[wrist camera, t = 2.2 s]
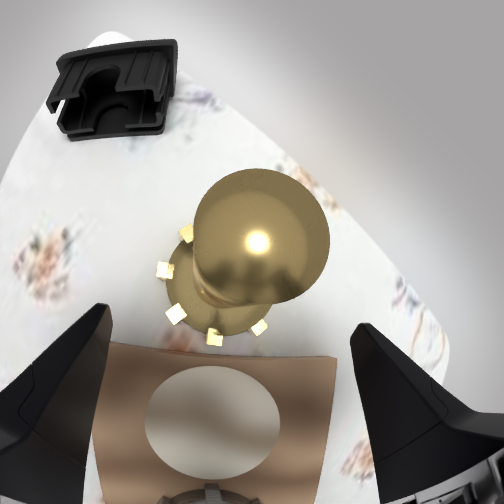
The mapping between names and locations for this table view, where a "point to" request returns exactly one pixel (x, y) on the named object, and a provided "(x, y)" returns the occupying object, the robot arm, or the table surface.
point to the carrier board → (211, 424)
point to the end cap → (115, 89)
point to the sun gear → (208, 497)
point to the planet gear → (245, 253)
